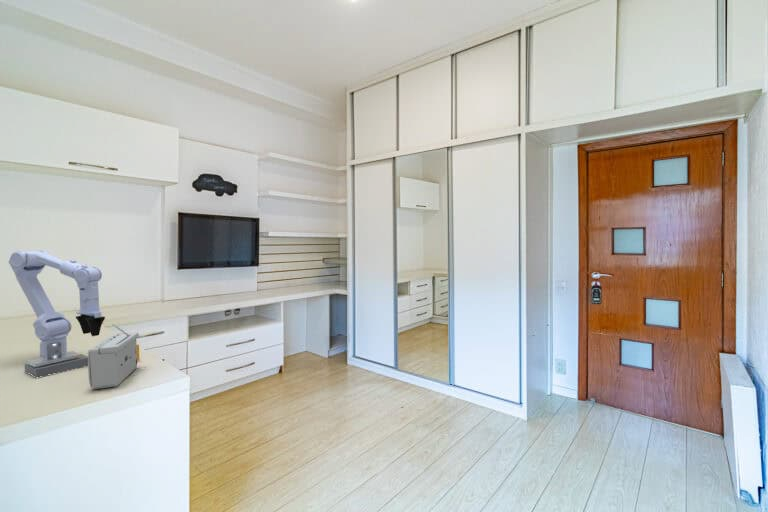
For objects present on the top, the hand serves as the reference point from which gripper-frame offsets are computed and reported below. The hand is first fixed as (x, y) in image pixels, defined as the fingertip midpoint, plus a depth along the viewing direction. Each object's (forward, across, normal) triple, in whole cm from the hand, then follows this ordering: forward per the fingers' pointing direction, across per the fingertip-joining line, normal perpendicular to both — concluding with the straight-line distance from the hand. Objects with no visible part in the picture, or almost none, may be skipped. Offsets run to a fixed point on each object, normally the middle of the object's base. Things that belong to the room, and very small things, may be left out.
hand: (91, 334), depth 143 cm
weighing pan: (+7, -1, -11) cm, 13 cm away
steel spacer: (+6, 0, -11) cm, 12 cm away
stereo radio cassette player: (+11, +29, -4) cm, 31 cm away
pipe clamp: (+11, +15, +3) cm, 19 cm away
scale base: (+10, -1, -10) cm, 14 cm away
